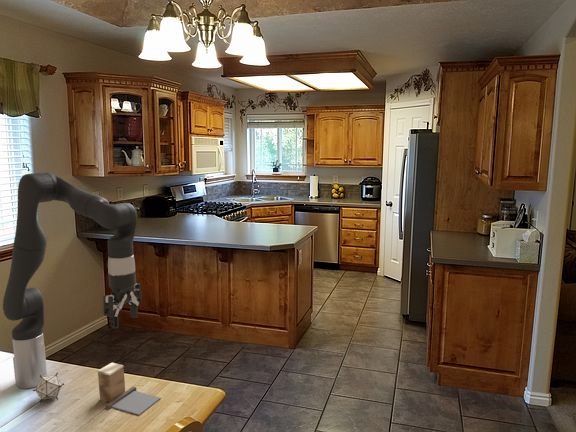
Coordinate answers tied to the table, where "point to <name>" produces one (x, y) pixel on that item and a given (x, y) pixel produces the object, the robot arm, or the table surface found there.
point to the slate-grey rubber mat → (136, 402)
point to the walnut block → (111, 381)
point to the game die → (48, 387)
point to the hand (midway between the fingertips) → (124, 322)
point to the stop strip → (120, 397)
